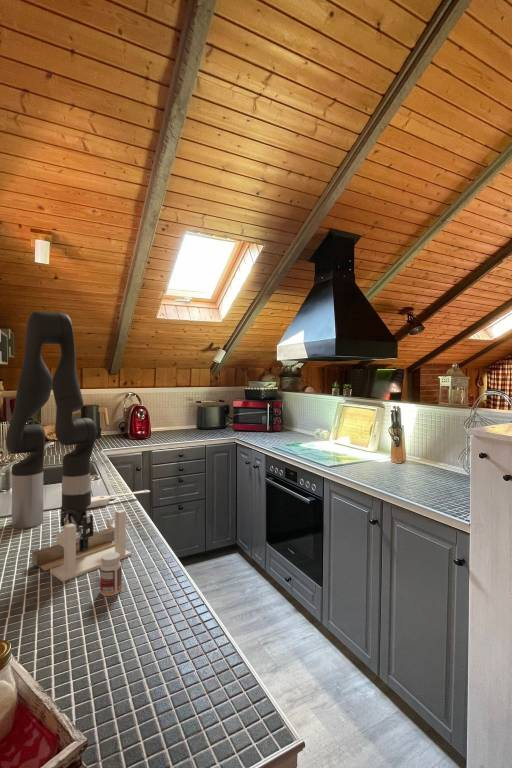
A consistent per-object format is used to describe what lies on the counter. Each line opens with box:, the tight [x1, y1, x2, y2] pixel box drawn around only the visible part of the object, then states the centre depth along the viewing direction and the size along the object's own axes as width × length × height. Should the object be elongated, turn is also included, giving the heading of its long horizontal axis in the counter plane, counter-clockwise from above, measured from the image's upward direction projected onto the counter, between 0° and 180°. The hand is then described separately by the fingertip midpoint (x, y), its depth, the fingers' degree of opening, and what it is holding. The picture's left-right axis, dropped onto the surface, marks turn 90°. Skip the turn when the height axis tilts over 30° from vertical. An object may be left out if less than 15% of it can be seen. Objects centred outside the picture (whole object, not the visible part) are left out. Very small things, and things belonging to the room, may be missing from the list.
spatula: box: [86, 489, 151, 509], centre depth 158 cm, size 28×6×3 cm, turn 128°
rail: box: [31, 528, 115, 568], centre depth 113 cm, size 3×22×3 cm, turn 140°
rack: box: [49, 508, 132, 583], centre depth 107 cm, size 7×19×13 cm, turn 140°
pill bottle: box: [99, 552, 123, 597], centre depth 94 cm, size 5×5×8 cm
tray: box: [38, 541, 115, 571], centre depth 113 cm, size 7×20×1 cm, turn 140°
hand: (76, 546), depth 113 cm, fingers open, 8 cm apart
